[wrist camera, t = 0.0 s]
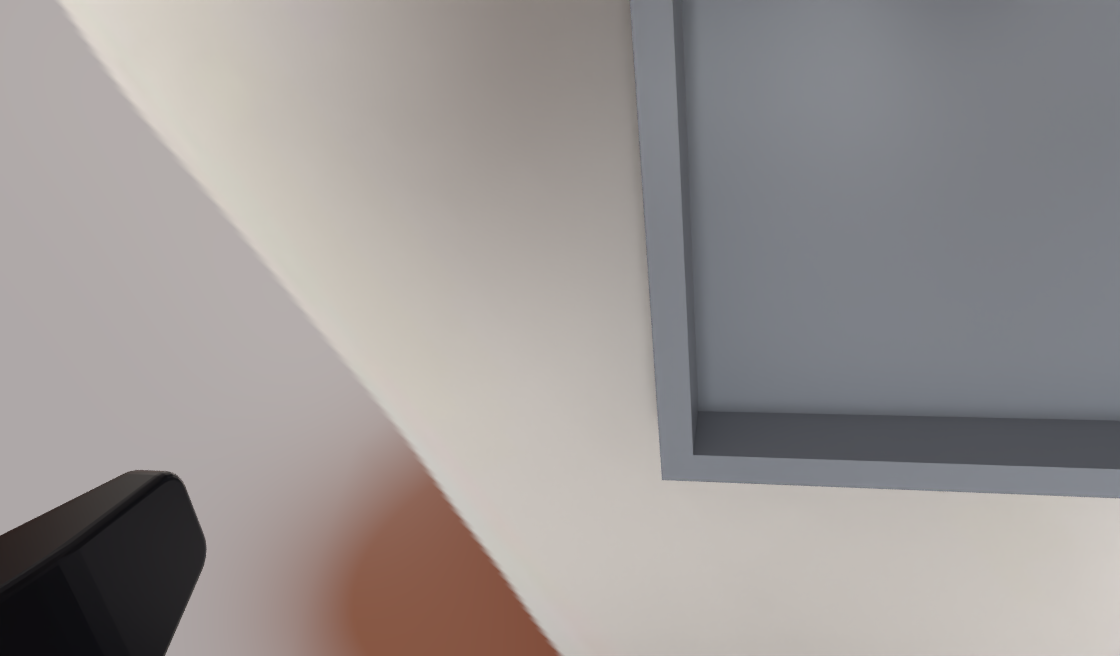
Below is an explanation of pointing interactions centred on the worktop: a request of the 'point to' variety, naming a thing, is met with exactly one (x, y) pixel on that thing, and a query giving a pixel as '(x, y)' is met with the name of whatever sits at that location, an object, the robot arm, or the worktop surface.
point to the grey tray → (884, 241)
